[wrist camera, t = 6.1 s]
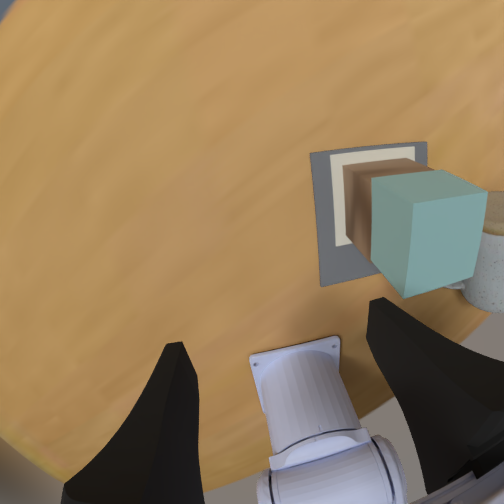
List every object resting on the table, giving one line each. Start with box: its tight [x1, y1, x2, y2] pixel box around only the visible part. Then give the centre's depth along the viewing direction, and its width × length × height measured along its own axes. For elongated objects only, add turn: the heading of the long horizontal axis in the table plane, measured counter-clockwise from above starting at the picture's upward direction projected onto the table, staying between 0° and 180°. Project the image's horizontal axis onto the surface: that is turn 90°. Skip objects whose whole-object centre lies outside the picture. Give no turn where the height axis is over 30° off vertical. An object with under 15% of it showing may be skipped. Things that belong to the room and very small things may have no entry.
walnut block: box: [342, 158, 434, 263], centre depth 18 cm, size 5×5×4 cm
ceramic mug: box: [443, 191, 504, 313], centre depth 20 cm, size 11×8×8 cm
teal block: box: [371, 170, 488, 299], centre depth 15 cm, size 5×5×4 cm
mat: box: [310, 142, 427, 287], centre depth 21 cm, size 10×9×1 cm
